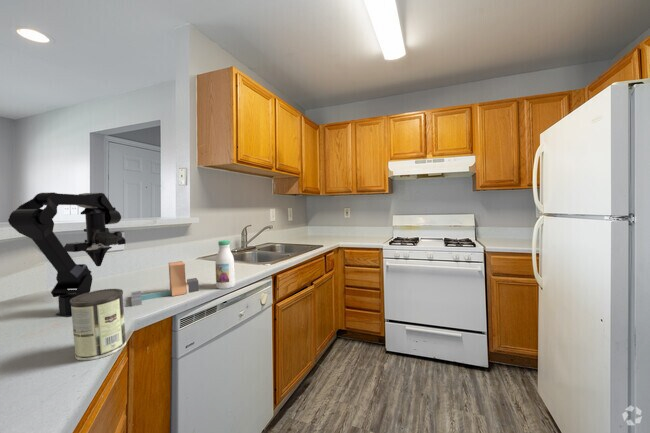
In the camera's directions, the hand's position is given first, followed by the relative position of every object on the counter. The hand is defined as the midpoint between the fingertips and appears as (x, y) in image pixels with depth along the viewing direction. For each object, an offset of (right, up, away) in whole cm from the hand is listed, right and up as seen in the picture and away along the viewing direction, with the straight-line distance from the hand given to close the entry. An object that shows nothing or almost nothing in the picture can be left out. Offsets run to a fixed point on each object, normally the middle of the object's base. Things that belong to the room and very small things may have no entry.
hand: (98, 266), depth 107 cm
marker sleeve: (+27, -12, +6) cm, 30 cm away
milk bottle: (+44, -12, +14) cm, 48 cm away
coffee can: (+31, -15, -37) cm, 50 cm away
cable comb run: (+24, -12, +4) cm, 27 cm away
